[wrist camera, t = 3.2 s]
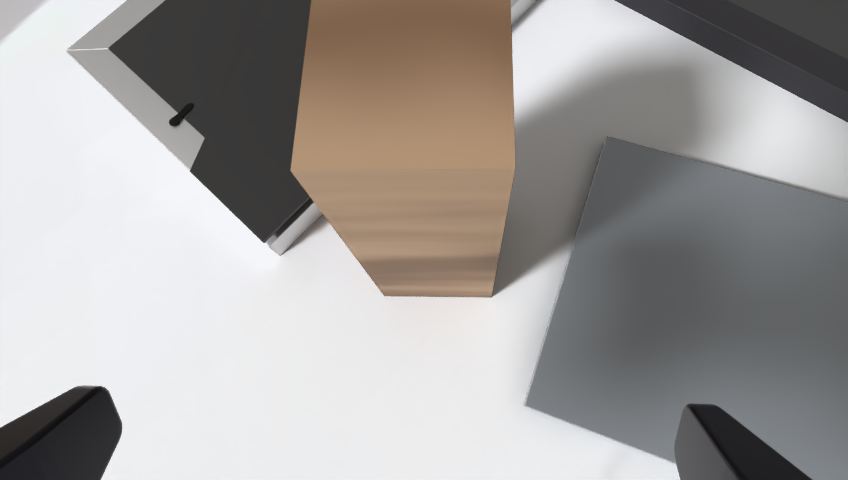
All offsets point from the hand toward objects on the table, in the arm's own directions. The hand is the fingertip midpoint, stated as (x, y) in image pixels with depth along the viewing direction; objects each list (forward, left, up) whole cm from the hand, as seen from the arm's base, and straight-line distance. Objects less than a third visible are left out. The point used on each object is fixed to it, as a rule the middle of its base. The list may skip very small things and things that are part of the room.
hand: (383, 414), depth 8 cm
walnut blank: (+4, +5, -13) cm, 15 cm away
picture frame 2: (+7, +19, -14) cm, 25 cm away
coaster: (+11, -4, -13) cm, 17 cm away
